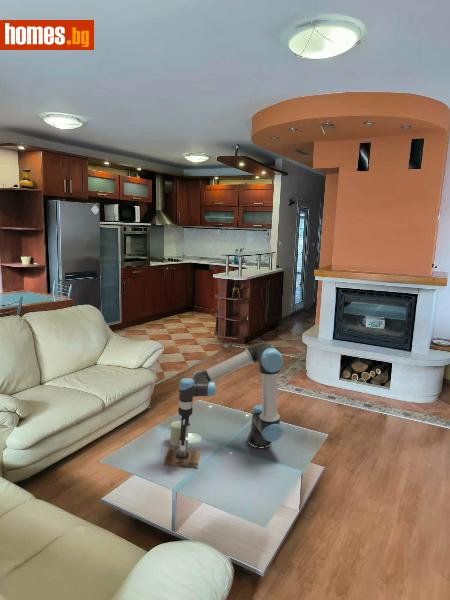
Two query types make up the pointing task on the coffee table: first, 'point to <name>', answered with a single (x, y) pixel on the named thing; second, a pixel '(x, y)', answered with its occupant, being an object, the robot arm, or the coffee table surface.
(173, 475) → the coffee table surface
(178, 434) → the can
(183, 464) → the jig
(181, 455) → the grey square block
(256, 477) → the coffee table surface
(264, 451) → the coffee table surface
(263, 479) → the coffee table surface
